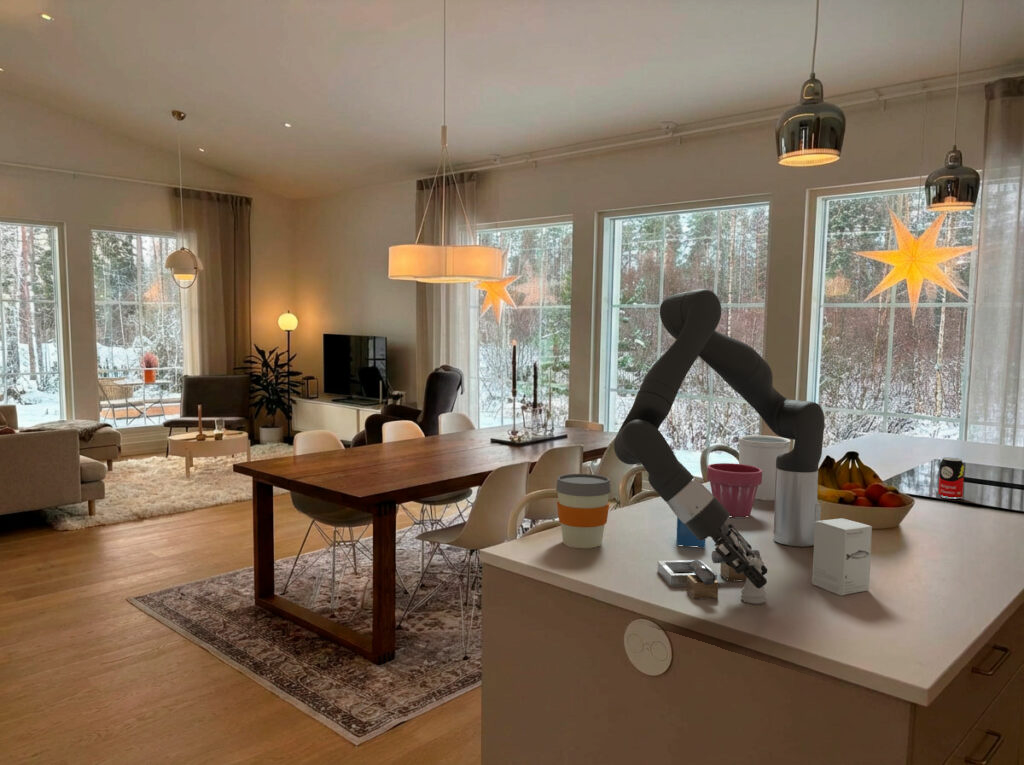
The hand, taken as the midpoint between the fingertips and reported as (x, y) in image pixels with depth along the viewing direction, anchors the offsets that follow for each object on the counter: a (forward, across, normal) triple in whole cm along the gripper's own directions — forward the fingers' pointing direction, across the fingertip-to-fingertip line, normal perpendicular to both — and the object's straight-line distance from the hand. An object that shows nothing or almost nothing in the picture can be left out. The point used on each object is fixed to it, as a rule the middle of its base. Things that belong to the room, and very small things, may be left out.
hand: (763, 579), depth 131 cm
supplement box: (+13, +14, -7) cm, 20 cm away
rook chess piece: (+2, +1, +4) cm, 5 cm away
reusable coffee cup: (-25, +25, +31) cm, 47 cm away
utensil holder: (+2, +95, +4) cm, 95 cm away
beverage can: (+40, +113, -33) cm, 124 cm away
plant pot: (-3, +67, +9) cm, 68 cm away
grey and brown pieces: (-3, +7, +9) cm, 12 cm away
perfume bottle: (-8, +34, +15) cm, 38 cm away
